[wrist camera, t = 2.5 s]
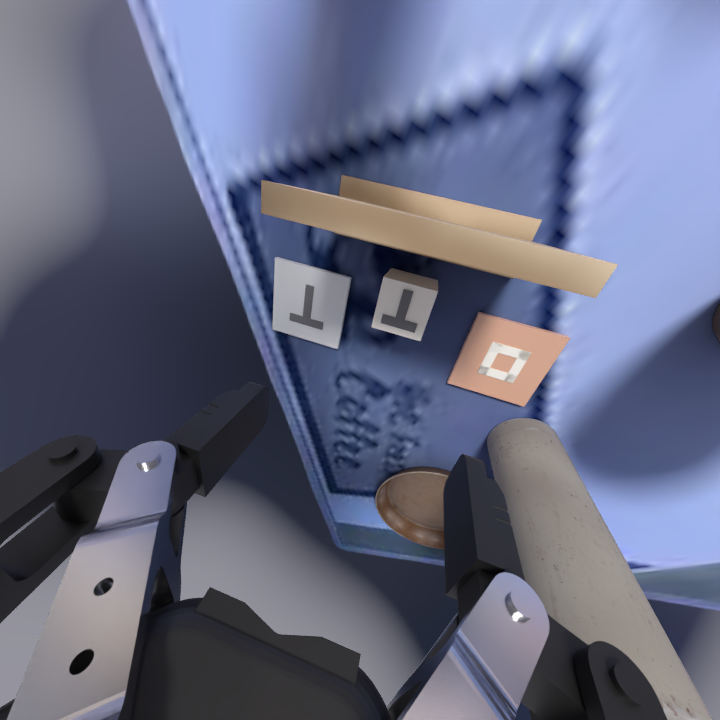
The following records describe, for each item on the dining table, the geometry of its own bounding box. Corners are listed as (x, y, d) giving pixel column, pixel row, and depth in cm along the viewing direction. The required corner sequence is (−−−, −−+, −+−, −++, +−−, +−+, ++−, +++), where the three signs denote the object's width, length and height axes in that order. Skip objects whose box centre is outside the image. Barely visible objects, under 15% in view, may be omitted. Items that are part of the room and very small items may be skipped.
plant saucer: (378, 518, 49) (375, 535, 47) (378, 447, 41) (374, 463, 39) (482, 541, 45) (484, 561, 43) (504, 468, 37) (509, 487, 34)
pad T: (277, 256, 31) (274, 257, 30) (351, 277, 30) (350, 278, 29) (274, 327, 35) (271, 329, 35) (339, 347, 34) (337, 349, 34)
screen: (344, 175, 26) (261, 140, 14) (539, 219, 23) (645, 223, 11) (336, 232, 28) (260, 245, 16) (511, 277, 26) (574, 329, 14)
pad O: (478, 311, 28) (479, 313, 28) (567, 335, 27) (570, 338, 26) (447, 380, 33) (447, 383, 32) (522, 403, 32) (524, 407, 31)
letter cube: (391, 267, 28) (383, 277, 24) (438, 279, 28) (438, 292, 23) (380, 313, 31) (370, 329, 27) (422, 325, 30) (419, 343, 26)
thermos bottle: (547, 469, 35) (785, 1016, 11) (481, 459, 37) (563, 908, 13) (567, 422, 31) (985, 1087, 7) (492, 413, 33) (635, 920, 9)
